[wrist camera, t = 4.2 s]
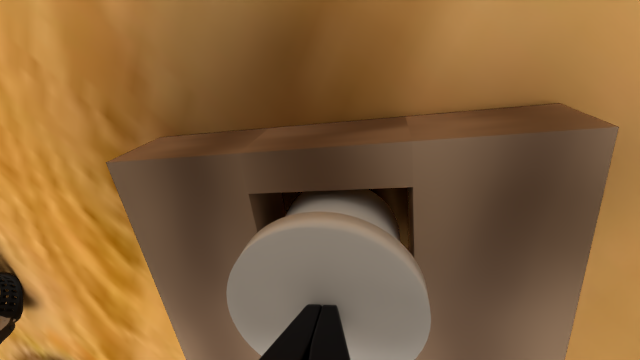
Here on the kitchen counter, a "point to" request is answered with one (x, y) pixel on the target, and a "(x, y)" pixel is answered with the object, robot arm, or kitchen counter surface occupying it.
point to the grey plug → (333, 276)
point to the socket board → (423, 217)
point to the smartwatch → (9, 304)
